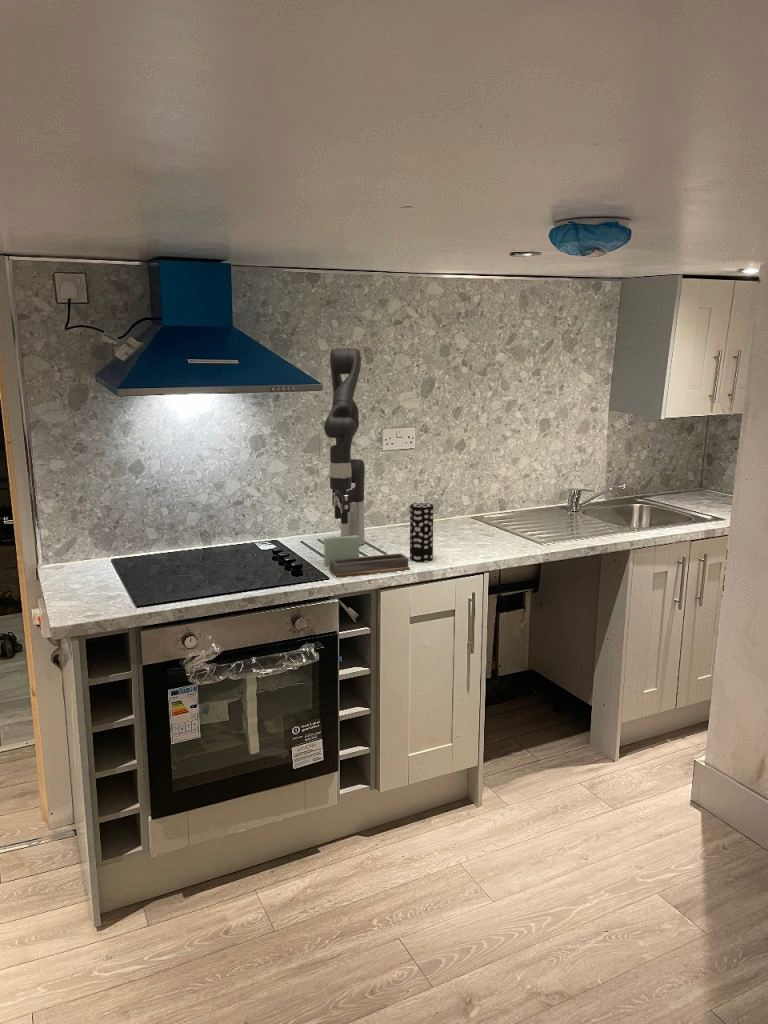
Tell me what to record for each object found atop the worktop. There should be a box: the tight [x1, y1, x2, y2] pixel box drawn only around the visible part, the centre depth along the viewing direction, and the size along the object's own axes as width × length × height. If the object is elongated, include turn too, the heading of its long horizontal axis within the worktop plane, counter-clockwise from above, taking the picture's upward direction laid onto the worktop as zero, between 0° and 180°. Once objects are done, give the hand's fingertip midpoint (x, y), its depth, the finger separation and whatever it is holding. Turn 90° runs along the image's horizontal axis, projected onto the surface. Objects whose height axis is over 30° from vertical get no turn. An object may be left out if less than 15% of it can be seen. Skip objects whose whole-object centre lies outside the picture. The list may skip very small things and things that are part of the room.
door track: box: [328, 552, 411, 578], centre depth 269 cm, size 10×26×4 cm, turn 109°
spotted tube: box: [409, 502, 434, 563], centre depth 280 cm, size 8×8×20 cm
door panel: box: [323, 535, 360, 568], centre depth 275 cm, size 2×12×10 cm, turn 109°
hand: (341, 521), depth 273 cm, fingers open, 8 cm apart
